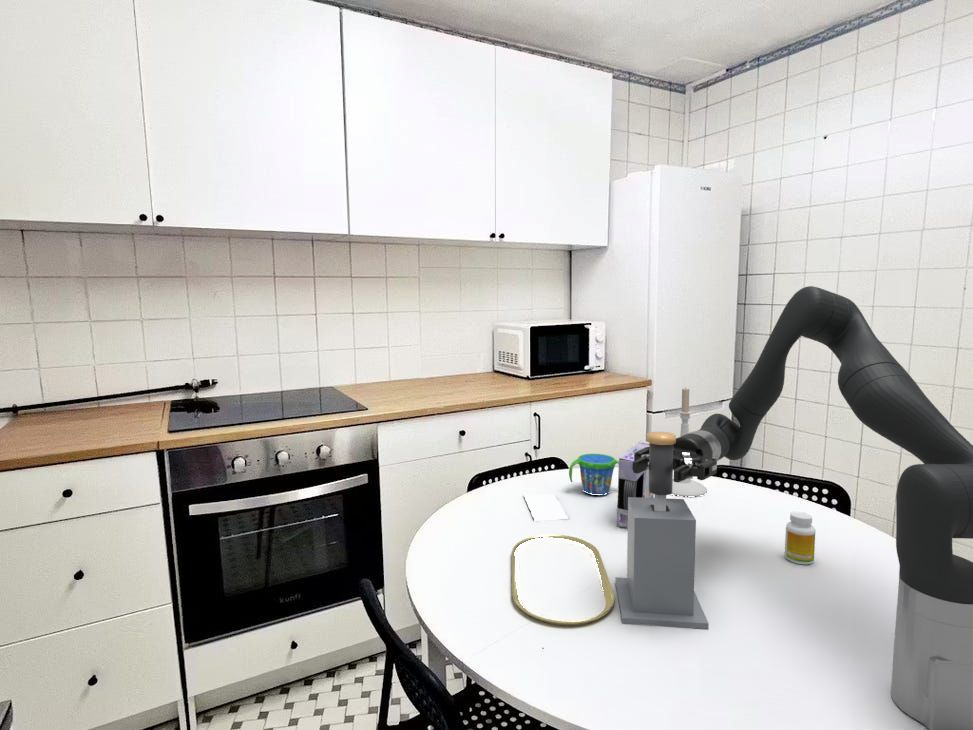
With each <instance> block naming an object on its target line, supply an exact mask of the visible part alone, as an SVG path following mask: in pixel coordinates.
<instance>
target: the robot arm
mask: <svg viewBox="0 0 973 730" xmlns="http://www.w3.org/2000/svg"><path fill="white" fill-rule="evenodd" d="M801 337H803V338H806V339H810V340H813V341H815V342H817V343H821V344H823V346H824V345H825V346H826V347H828V349H829V350H830V351H832V353H833V354H834V355H835V357H836V358H837V360H839V362H840V367H839V370H838V375H837V385H838V390H839V391H840V394H841V396H842V397H843V398H844V400H845V402H846V403H847V405H848V406H849V408H850V410H851V411H852V412H853V414H854V415H855V417H856V418H857V419H858V420H859V421H860V422H861V423H862V424H864V425H865V426H866V427H867V428H869V429H870V430H872V431H873V432H875V433H876V434H877V435H880V436H881V437H883V438H885V439H886V440H888V441H890V443H893V444H895V445H896V446H898V447H900V448H902V449H903V450H905V451H907V452H909V453H910V454H912V455H913V456H914V457H916V458H917V459H918V460H919V461H920V462H922V463H919V464H918V463H917V464H912V465H909V466H908V467H906V468H905V469H904V470H903V471H902V473H901V474H900V477H899V479H898V483H897V486H896V487H897V489H896V499H895V500H896V501H895V503H896V504H895V507H896V509H895V514H896V515H895V517H896V518H895V519H896V521H895V523H896V524H895V527H896V529H895V530H896V531H895V532H896V534H895V548H896V554H897V558H898V559H897V560H898V564H899V565H898V566H899V569H898V570H899V572H898V573H899V574H898V587H897V588H898V589H897V590H898V591H897V599H896V600H897V602H896V614H895V627H894V642H893V653H892V669H891V670H892V671H891V683H890V684H891V685H890V696H891V697H890V698H892V700H893V702H894V703H895V705H896V706H897V707H898V708H899V709H900V710H901V711H903V712H904V713H905V714H906V715H908V716H909V717H911V718H912V719H914V720H916V721H917V722H919V723H921V724H922V725H923V726H925V728H927V730H973V561H971V560H969V559H966V558H964V557H961V556H959V555H956V554H953V553H954V552H953V539H966V540H967V539H971V540H972V539H973V444H972V443H971V442H970V441H969V440H967V439H966V437H965V436H964V435H962V434H961V433H960V432H959V431H958V430H957V429H956V427H954V426H953V425H952V424H951V422H949V420H948V419H947V418H946V417H945V416H944V415H943V413H942V412H940V410H939V409H938V408H937V407H936V405H934V404H933V403H932V402H931V400H930V399H929V397H927V395H926V394H925V393H924V391H923V390H922V389H921V388H920V387H919V384H917V382H916V381H915V380H914V379H913V378H912V375H910V374H909V373H908V372H907V370H906V369H905V368H904V367H903V365H902V364H900V363H899V361H898V360H897V359H896V358H895V357H894V356H893V354H891V352H890V351H889V350H888V349H887V347H886V346H885V345H884V344H883V343H882V342H881V341H880V340H879V339H878V337H877V336H876V335H875V333H874V331H873V330H872V328H871V326H870V325H869V323H868V321H867V320H866V318H865V316H864V314H863V313H862V312H861V310H860V308H859V307H858V305H856V303H855V302H854V301H852V300H851V299H849V298H848V297H845V296H843V295H840V294H837V293H835V292H833V291H830V290H826V289H823V288H820V287H818V286H812V285H809V286H805V287H802V288H800V289H799V290H797V291H796V292H795V293H794V294H793V295H792V297H791V298H790V299H789V300H788V302H787V303H786V304H785V306H784V308H783V310H782V311H781V313H780V316H779V317H778V320H777V322H776V323H775V325H774V327H773V329H772V331H771V333H770V334H769V336H768V339H767V341H766V343H765V345H764V346H763V349H762V351H761V353H760V356H759V358H758V359H757V361H756V363H755V365H754V366H753V369H752V370H751V371H750V373H749V375H748V376H747V377H746V379H744V381H743V383H742V384H741V386H740V387H739V388H738V390H737V391H736V392H735V394H734V395H733V396H732V398H730V401H729V403H728V409H729V411H730V412H731V414H732V415H733V417H734V418H735V419H736V420H737V421H738V423H739V425H738V424H737V423H736V422H734V421H733V420H732V419H731V418H729V417H728V416H727V415H724V414H722V413H713V414H710V416H708V417H707V418H706V419H705V420H704V422H703V423H702V425H701V427H700V429H697V430H695V431H689V433H688V434H685V435H683V436H681V437H680V436H679V437H676V443H675V444H673V479H674V482H677V483H679V482H681V481H683V480H686V479H687V478H688V479H691V480H693V479H694V477H696V479H697V480H699V481H705V480H706V479H708V478H710V477H712V476H714V475H716V474H717V469H718V461H720V460H721V459H724V457H725V458H726V459H728V460H729V461H738V460H741V459H743V458H744V457H746V455H747V454H748V453H749V451H750V449H751V447H752V444H753V442H754V438H755V436H756V433H757V430H758V428H759V426H760V423H762V420H763V419H764V418H765V416H766V415H767V413H768V412H769V411H770V409H772V408H773V406H774V405H775V403H776V402H777V401H778V399H779V398H780V396H781V394H782V392H783V389H784V384H785V377H786V376H785V375H786V374H785V373H786V364H787V359H788V355H789V353H790V351H791V349H792V347H793V346H794V345H795V344H796V342H797V341H798V340H799V339H800V338H801ZM648 462H649V447H645V448H643V449H641V450H639V451H637V452H635V453H634V461H633V467H632V470H633V472H634V473H637V474H639V473H641V472H643V471H645V470H647V469H649V464H648Z"/></svg>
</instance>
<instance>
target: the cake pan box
mask: <svg viewBox="0 0 973 730" xmlns="http://www.w3.org/2000/svg"><path fill="white" fill-rule="evenodd" d="M645 447H649V442H647V440H640V441H638V442H637V443H636V444H635V445H634V446H631V447H630V448H629V449H628V450H627V451H626V453H624V454H622V455H621V456H620V457H619V459H618V461H619V464H618V470H617V471H618V476H617V477H618V479H617V481H618V482H617V505H616V506H617V508H616V511H617V512H616V527H617V526H621V527H620V528H622V527H625V528H624V529H627V528H628V497H637V498H654V494H653V493H650V492H649V469H647V470H645V471H643V472H641V473H639V474H637V473H634V472H633V470H632V467H633V461H634V453H635V452H637V451H639V450H641V449H643V448H645ZM648 464H649V462H648Z"/></svg>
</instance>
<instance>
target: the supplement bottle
mask: <svg viewBox="0 0 973 730" xmlns="http://www.w3.org/2000/svg"><path fill="white" fill-rule="evenodd" d="M789 515H790V517H789V520H790V521H788V522H787V523H786V526H785V541H784V558H785V559H787V560H788V561H789V562H791V563H794V564H796V565H797V564H798V565H812V564H813V563H814V562H815V549H816V548H815V547H816V528H815V526H814V525H812V524H813V516H812V514H810V513H806V512H803V511H792V512H790V514H789Z"/></svg>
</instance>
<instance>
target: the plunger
mask: <svg viewBox="0 0 973 730" xmlns="http://www.w3.org/2000/svg"><path fill="white" fill-rule="evenodd" d="M676 438H677V435H676V434H675V433H672V432H668V431H667V432H666V431H651V432H647V434H646V441H647V442H649V492H650V493H653V494H654V511H666V498H667V496H670V494H672V485H673V479H674V470H673V444H675V443H676Z"/></svg>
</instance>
